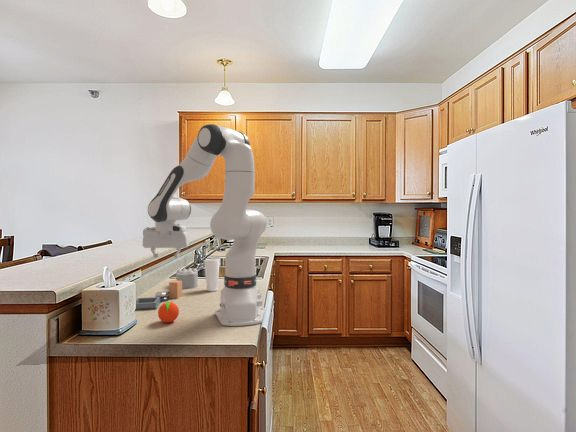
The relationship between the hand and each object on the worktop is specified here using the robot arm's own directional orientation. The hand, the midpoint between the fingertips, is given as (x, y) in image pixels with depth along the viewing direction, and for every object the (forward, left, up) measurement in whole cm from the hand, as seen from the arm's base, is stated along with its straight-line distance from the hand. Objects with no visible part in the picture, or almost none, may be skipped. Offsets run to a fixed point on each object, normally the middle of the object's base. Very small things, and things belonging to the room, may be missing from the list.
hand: (166, 257), depth 157 cm
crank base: (-9, +1, -17) cm, 19 cm away
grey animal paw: (+18, -7, -17) cm, 26 cm away
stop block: (-5, -5, -17) cm, 18 cm away
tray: (-18, +5, -17) cm, 25 cm away
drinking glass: (+5, -20, -17) cm, 27 cm away
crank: (-5, -1, -16) cm, 16 cm away
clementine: (-40, -7, -17) cm, 44 cm away
